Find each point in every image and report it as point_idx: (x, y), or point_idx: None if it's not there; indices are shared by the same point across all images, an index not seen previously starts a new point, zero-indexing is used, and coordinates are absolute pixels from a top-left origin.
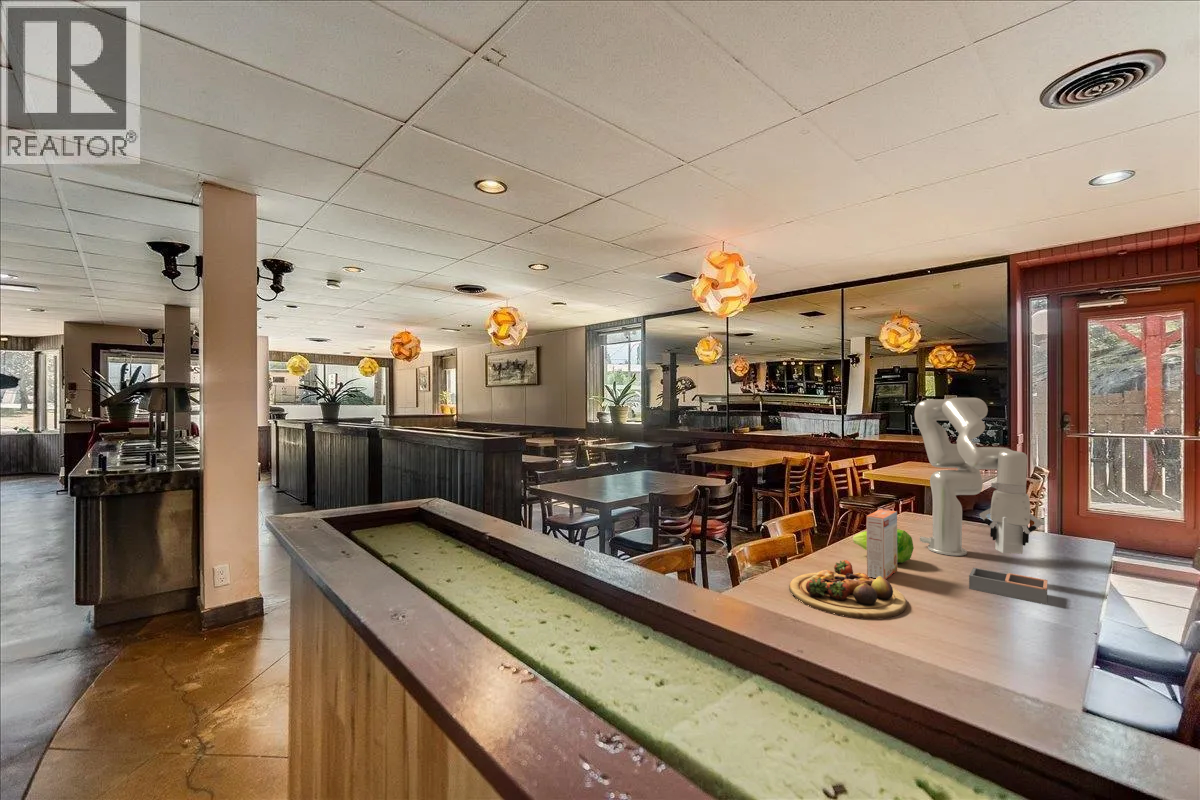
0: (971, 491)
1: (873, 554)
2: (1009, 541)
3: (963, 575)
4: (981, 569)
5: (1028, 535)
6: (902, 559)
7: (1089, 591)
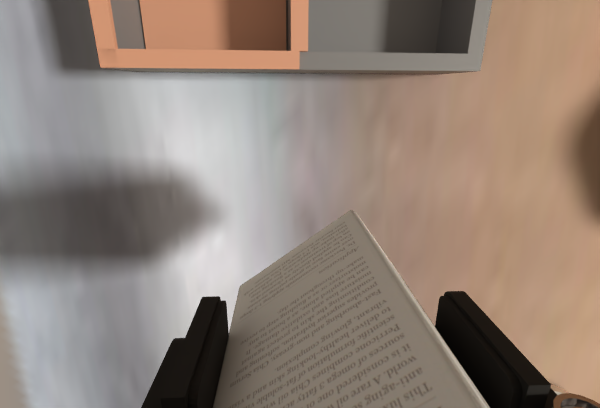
0: None
1: None
2: (330, 282)
3: (478, 129)
4: (439, 57)
5: (143, 403)
6: None
7: (23, 264)
